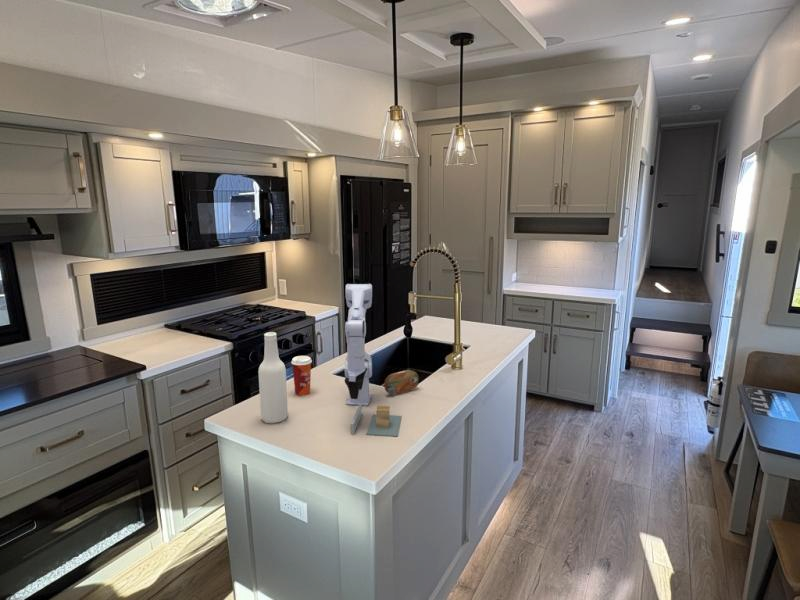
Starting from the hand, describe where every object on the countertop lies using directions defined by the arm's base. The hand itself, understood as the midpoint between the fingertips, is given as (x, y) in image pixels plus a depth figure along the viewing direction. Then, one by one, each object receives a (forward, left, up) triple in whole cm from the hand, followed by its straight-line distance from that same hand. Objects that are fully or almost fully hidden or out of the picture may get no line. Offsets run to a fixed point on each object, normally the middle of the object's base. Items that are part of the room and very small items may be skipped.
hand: (356, 393), depth 151 cm
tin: (-25, +13, -10) cm, 30 cm away
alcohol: (+2, -28, -10) cm, 30 cm away
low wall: (+3, 0, -9) cm, 10 cm away
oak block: (+3, +9, -9) cm, 13 cm away
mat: (+3, +10, -9) cm, 14 cm away
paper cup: (-20, -25, -10) cm, 33 cm away
